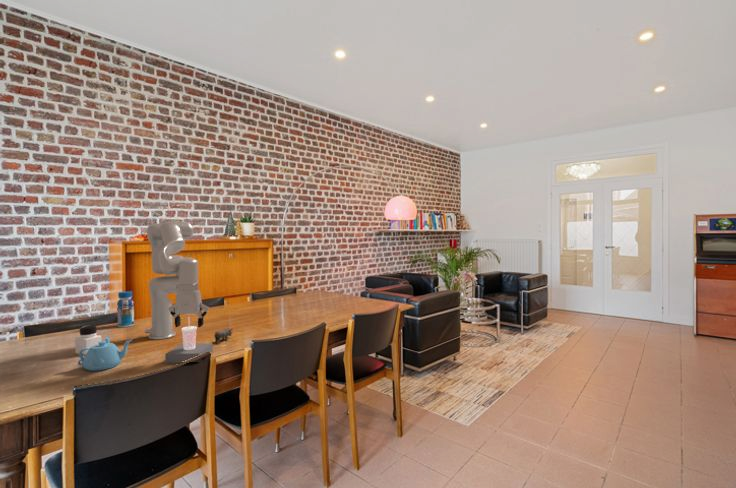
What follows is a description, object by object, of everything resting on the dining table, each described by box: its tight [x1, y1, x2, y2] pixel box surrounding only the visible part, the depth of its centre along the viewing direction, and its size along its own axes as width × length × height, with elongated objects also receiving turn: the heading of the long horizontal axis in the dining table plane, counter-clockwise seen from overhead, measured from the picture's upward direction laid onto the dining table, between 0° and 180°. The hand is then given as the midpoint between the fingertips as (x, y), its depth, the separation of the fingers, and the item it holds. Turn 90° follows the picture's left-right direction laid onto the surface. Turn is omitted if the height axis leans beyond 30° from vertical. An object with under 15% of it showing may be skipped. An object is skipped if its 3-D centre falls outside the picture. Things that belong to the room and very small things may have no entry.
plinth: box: [164, 342, 214, 364], centre depth 159 cm, size 14×14×4 cm
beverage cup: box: [181, 315, 198, 350], centre depth 159 cm, size 6×6×14 cm
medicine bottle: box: [74, 324, 103, 356], centre depth 167 cm, size 7×7×12 cm
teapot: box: [77, 335, 133, 372], centre depth 149 cm, size 15×15×10 cm
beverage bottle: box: [116, 290, 135, 328], centre depth 215 cm, size 8×8×20 cm
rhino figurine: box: [214, 327, 233, 345], centre depth 185 cm, size 4×14×6 cm, turn 165°
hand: (189, 326), depth 159 cm, fingers open, 9 cm apart
